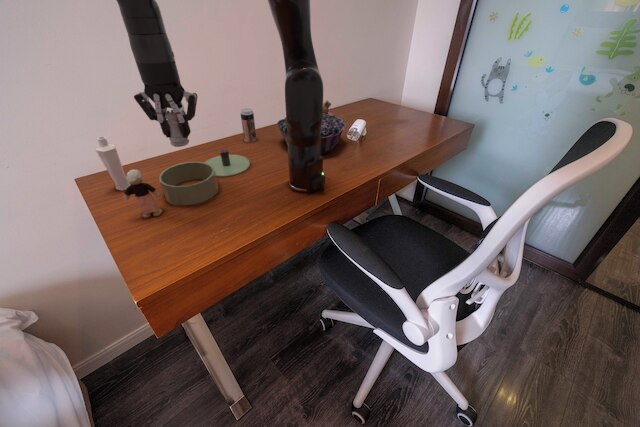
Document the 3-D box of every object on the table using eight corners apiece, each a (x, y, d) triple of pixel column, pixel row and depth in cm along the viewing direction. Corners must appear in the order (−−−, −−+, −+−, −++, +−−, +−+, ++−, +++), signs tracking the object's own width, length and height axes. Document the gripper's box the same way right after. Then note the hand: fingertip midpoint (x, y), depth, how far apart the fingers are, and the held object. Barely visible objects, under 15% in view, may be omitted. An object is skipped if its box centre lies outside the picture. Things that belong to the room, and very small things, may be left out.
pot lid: (259, 166, 95) (257, 149, 92) (222, 183, 85) (219, 166, 82) (230, 153, 102) (228, 138, 99) (193, 168, 92) (189, 151, 89)
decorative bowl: (268, 156, 105) (264, 131, 99) (294, 126, 125) (293, 103, 119) (333, 167, 100) (334, 141, 93) (350, 134, 119) (352, 111, 113)
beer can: (253, 143, 110) (250, 112, 102) (242, 142, 110) (237, 111, 103) (258, 139, 113) (255, 108, 106) (247, 138, 114) (243, 107, 107)
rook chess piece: (192, 140, 73) (183, 108, 68) (186, 147, 69) (176, 114, 64) (174, 140, 73) (165, 108, 68) (167, 147, 69) (157, 114, 64)
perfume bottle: (128, 181, 85) (107, 133, 76) (135, 186, 83) (114, 137, 74) (112, 187, 82) (88, 138, 73) (118, 192, 80) (94, 142, 71)
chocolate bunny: (320, 118, 136) (320, 96, 130) (335, 120, 134) (337, 98, 128) (316, 122, 132) (316, 99, 126) (332, 124, 130) (333, 101, 124)
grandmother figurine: (165, 206, 75) (149, 163, 68) (167, 214, 73) (150, 170, 65) (133, 214, 72) (112, 170, 65) (133, 222, 70) (111, 177, 62)
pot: (228, 190, 82) (224, 171, 79) (184, 213, 73) (177, 193, 69) (199, 175, 89) (195, 157, 85) (156, 194, 80) (148, 174, 76)
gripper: (110, 61, 56) (142, 142, 67) (182, 61, 57) (202, 142, 67) (129, 55, 62) (155, 131, 72) (194, 56, 63) (211, 131, 73)
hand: (178, 136), depth 70 cm, fingers closed on rook chess piece, 3 cm apart
